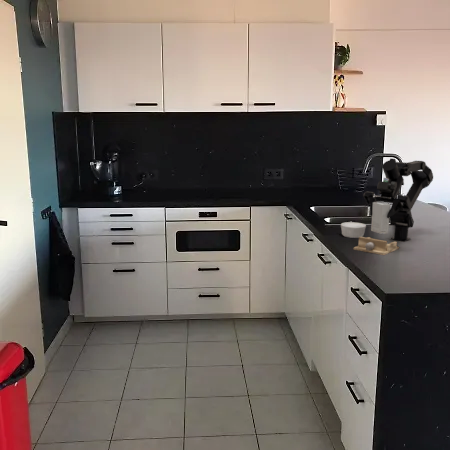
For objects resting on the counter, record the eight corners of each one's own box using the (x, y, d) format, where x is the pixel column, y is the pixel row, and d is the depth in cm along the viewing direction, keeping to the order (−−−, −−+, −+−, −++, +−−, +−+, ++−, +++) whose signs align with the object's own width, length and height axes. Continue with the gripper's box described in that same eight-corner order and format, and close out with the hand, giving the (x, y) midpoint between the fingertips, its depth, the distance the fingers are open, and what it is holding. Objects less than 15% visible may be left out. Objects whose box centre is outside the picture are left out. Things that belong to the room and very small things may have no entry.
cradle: (369, 243, 215) (370, 232, 214) (398, 248, 207) (399, 237, 206) (353, 249, 205) (354, 237, 204) (383, 255, 197) (384, 243, 196)
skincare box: (388, 233, 204) (391, 204, 201) (379, 234, 202) (382, 204, 200) (378, 230, 210) (381, 201, 207) (369, 230, 208) (372, 201, 205)
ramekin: (347, 239, 223) (348, 227, 222) (335, 233, 234) (336, 222, 233) (370, 237, 226) (371, 226, 225) (357, 232, 237) (358, 221, 235)
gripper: (366, 172, 210) (352, 201, 204) (410, 175, 198) (396, 207, 192) (374, 189, 217) (360, 217, 212) (416, 193, 205) (403, 224, 199)
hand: (379, 216), depth 204 cm, fingers closed on skincare box, 7 cm apart
